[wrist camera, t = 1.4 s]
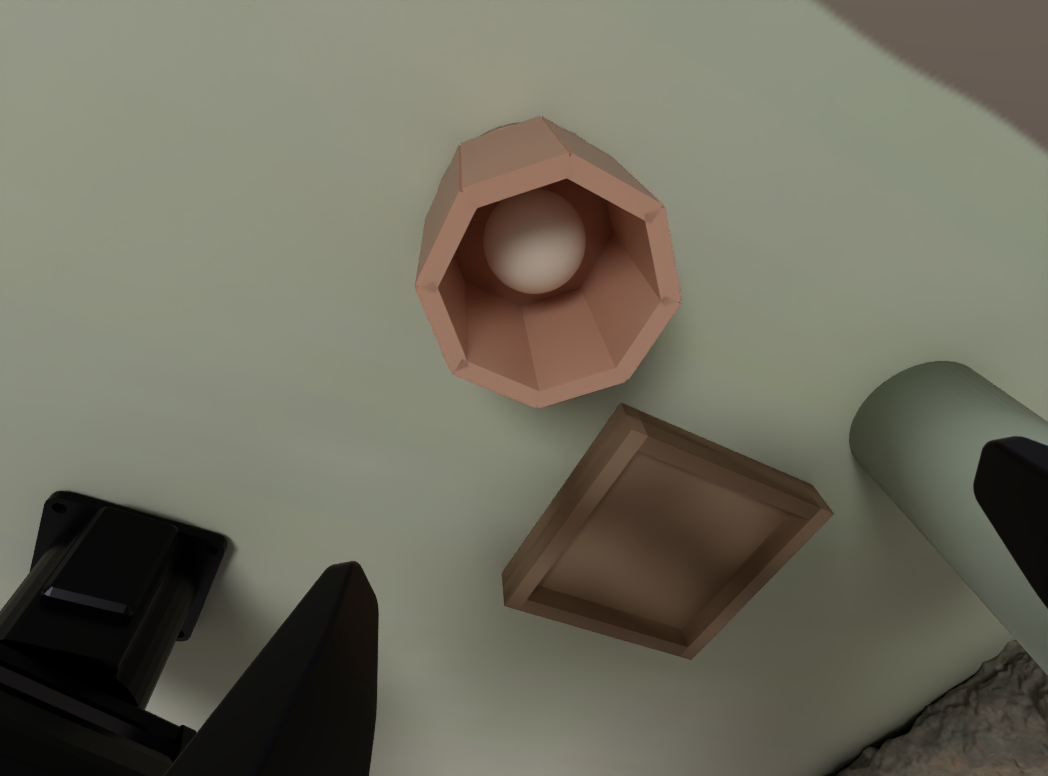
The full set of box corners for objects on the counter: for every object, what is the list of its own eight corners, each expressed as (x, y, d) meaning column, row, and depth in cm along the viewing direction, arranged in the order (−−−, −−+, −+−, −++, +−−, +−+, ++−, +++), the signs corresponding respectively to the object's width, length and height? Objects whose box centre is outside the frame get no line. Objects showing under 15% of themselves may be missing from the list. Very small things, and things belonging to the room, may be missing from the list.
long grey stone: (693, 816, 45) (785, 833, 49) (720, 908, 41) (818, 919, 45) (1188, 511, 30) (1263, 572, 34) (1313, 607, 26) (1382, 663, 29)
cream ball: (547, 287, 21) (560, 326, 18) (465, 248, 20) (466, 283, 17) (594, 206, 19) (614, 235, 17) (509, 159, 19) (517, 183, 16)
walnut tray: (679, 627, 31) (691, 659, 30) (501, 573, 28) (504, 605, 27) (812, 485, 27) (833, 513, 26) (621, 402, 24) (632, 429, 22)
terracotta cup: (561, 335, 22) (592, 431, 17) (403, 263, 20) (385, 347, 15) (656, 180, 20) (725, 239, 15) (485, 82, 18) (497, 110, 13)
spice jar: (913, 490, 28) (1152, 740, 18) (821, 448, 26) (1031, 700, 17) (1014, 392, 26) (1347, 621, 16) (920, 339, 24) (1231, 559, 14)
